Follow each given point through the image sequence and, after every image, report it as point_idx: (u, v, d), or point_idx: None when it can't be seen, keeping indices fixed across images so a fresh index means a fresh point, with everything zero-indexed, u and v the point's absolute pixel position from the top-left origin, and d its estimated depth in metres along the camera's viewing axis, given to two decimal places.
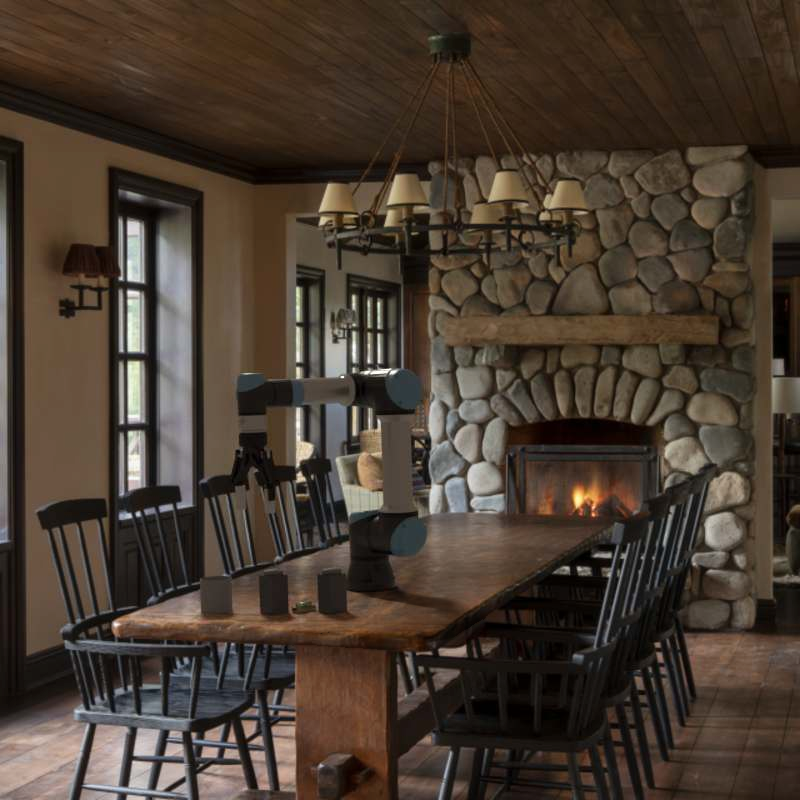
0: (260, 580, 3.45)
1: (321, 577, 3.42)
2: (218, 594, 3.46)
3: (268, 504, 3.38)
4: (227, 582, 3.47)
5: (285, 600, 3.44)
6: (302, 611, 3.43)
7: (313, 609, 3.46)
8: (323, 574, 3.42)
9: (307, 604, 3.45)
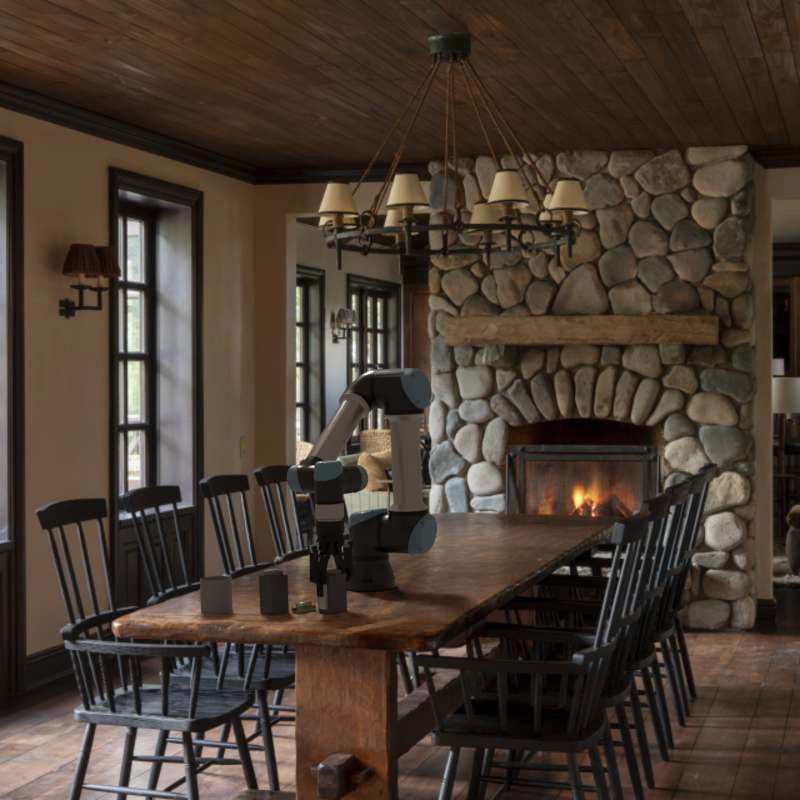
0: (260, 580, 3.45)
1: None
2: (218, 594, 3.46)
3: (320, 599, 3.42)
4: (227, 582, 3.47)
5: (285, 600, 3.44)
6: (302, 611, 3.43)
7: (313, 609, 3.46)
8: None
9: (307, 604, 3.45)
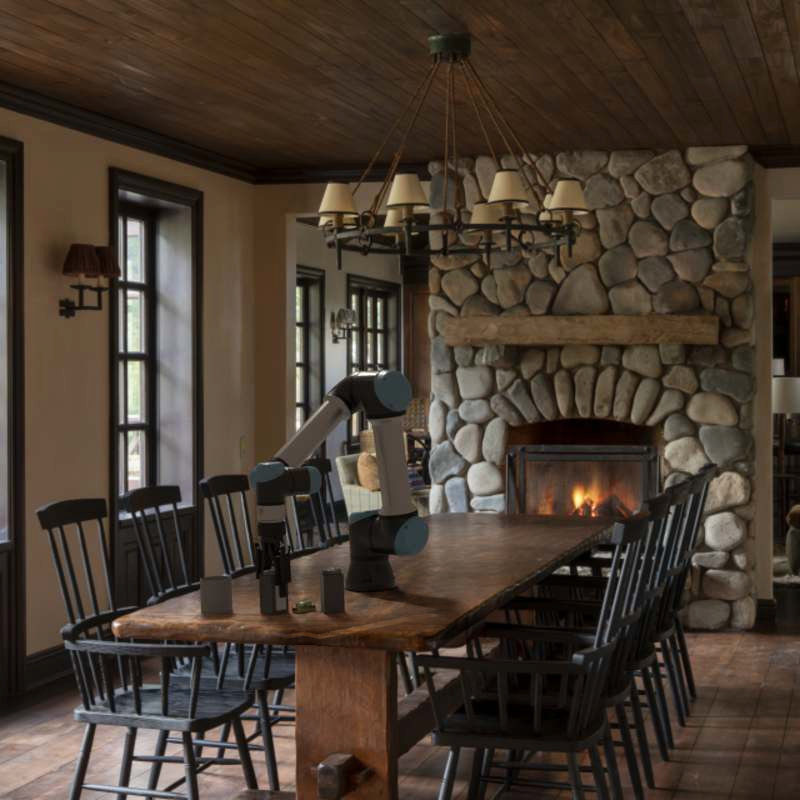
0: (260, 580, 3.45)
1: (330, 578, 3.41)
2: (218, 594, 3.46)
3: (279, 601, 3.42)
4: (227, 582, 3.47)
5: None
6: (302, 611, 3.43)
7: (313, 609, 3.46)
8: (333, 574, 3.41)
9: (307, 604, 3.45)
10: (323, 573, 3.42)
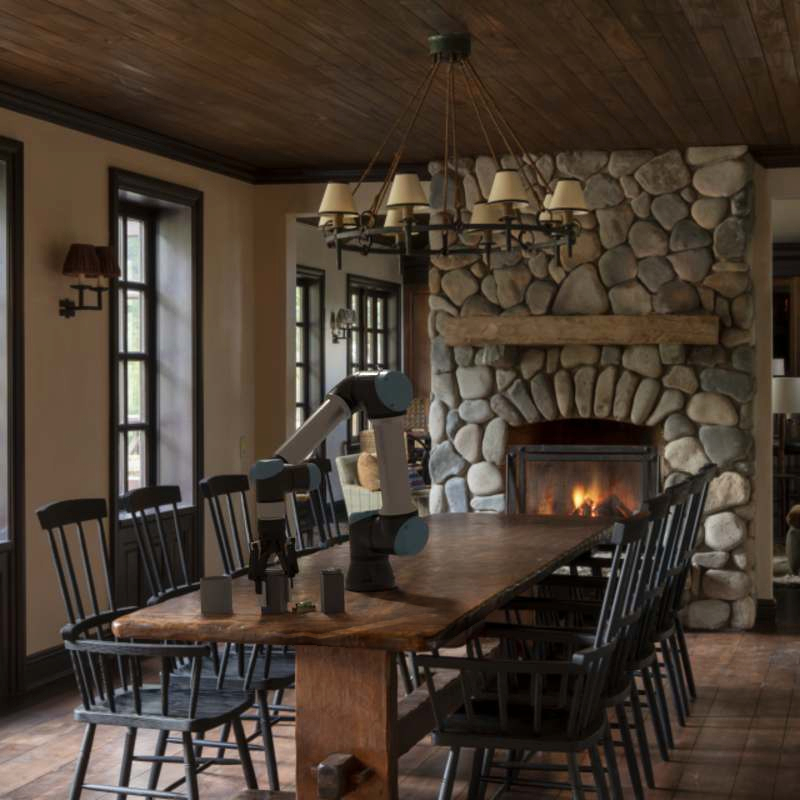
0: None
1: (330, 578, 3.41)
2: (218, 594, 3.46)
3: (259, 597, 3.42)
4: (227, 582, 3.47)
5: (276, 602, 3.42)
6: (302, 611, 3.43)
7: (313, 609, 3.46)
8: (333, 574, 3.41)
9: (307, 604, 3.45)
10: (323, 573, 3.42)
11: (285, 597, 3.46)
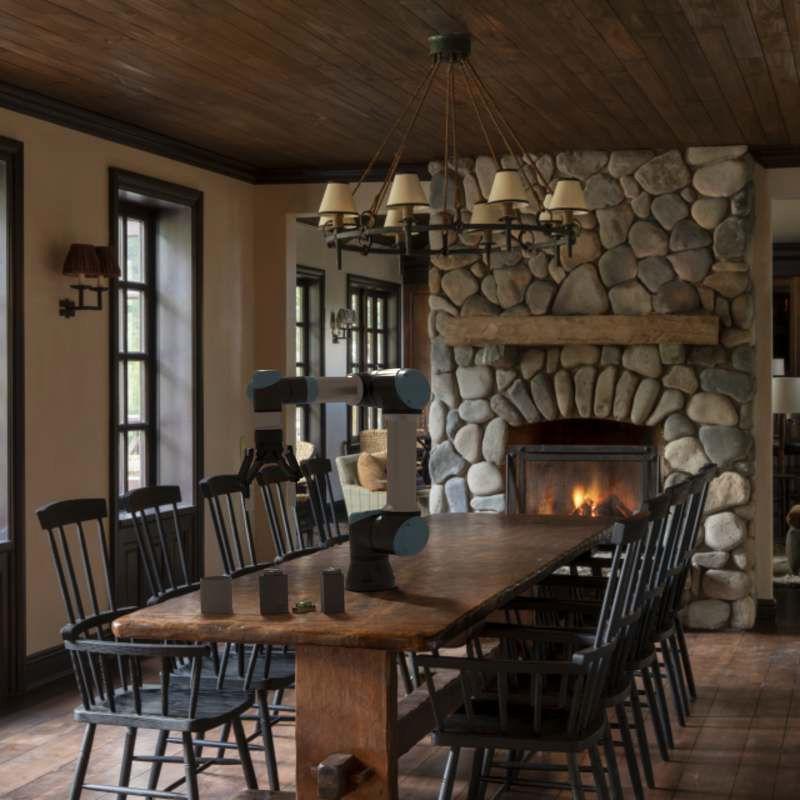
0: None
1: (330, 578, 3.41)
2: (218, 594, 3.46)
3: (246, 501, 3.40)
4: (227, 582, 3.47)
5: (273, 602, 3.42)
6: (302, 611, 3.43)
7: (313, 609, 3.46)
8: (333, 574, 3.41)
9: (307, 604, 3.45)
10: (323, 573, 3.42)
11: (286, 598, 3.45)
